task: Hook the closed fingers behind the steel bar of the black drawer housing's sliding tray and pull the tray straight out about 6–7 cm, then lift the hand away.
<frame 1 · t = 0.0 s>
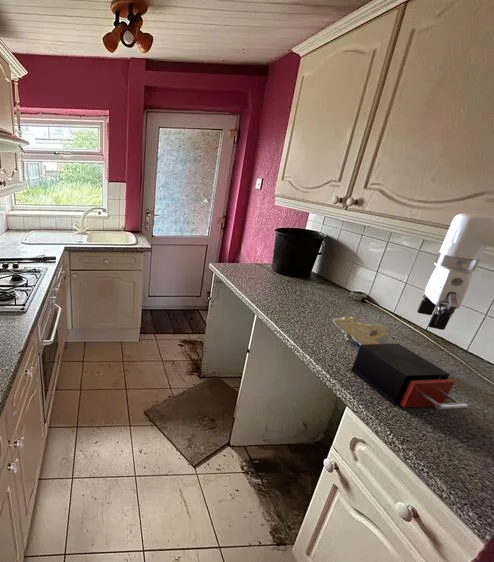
hand: (429, 320, 87), 20 cm above the countertop, tool pointing down, fingers open, 9 cm apart
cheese: (355, 345, 111), on the countertop
black drawer housing: (390, 385, 91), on the countertop
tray: (414, 384, 84), point 5 cm above the countertop, slide at 0.8 cm
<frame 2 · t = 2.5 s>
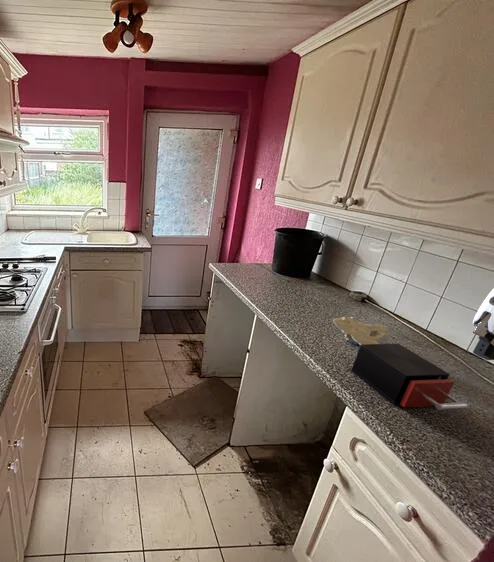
hand: (483, 356, 73), 19 cm above the countertop, tool pointing down, fingers closed
nothing on the countertop moved.
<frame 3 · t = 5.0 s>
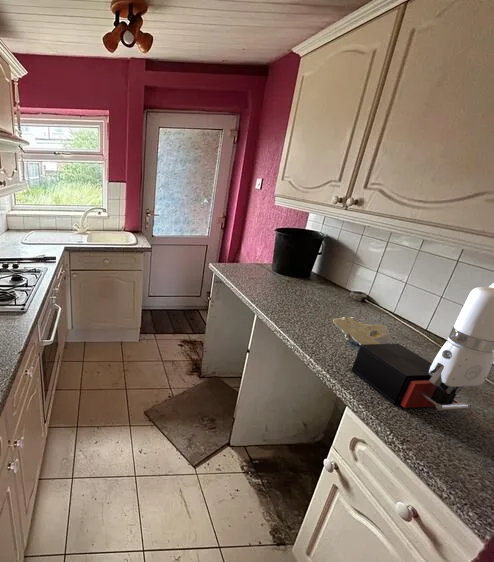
hand: (440, 402, 78), 5 cm above the countertop, tool pointing down, fingers closed
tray: (415, 385, 84), point 5 cm above the countertop, slide at 1.0 cm, touching gripper
everything else where it was.
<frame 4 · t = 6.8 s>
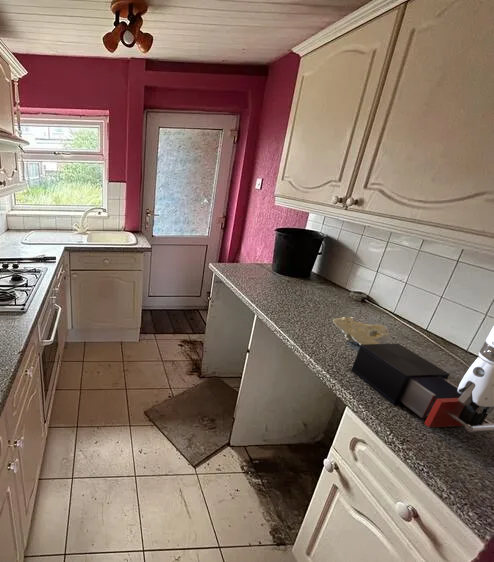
hand: (469, 422, 72), 5 cm above the countertop, tool pointing down, fingers closed
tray: (439, 402, 78), point 5 cm above the countertop, slide at 7.3 cm, touching gripper
everything else where it was.
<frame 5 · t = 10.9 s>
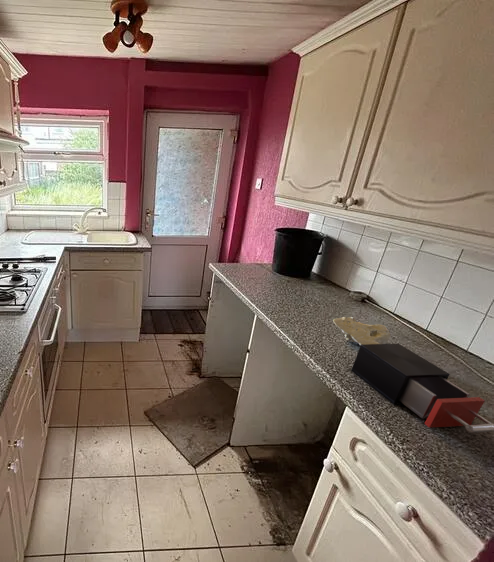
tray: (440, 402, 78), point 5 cm above the countertop, slide at 7.4 cm
everything else where it was.
at the end: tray slide at 7.4 cm; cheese moved 0.2 cm from its start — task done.
